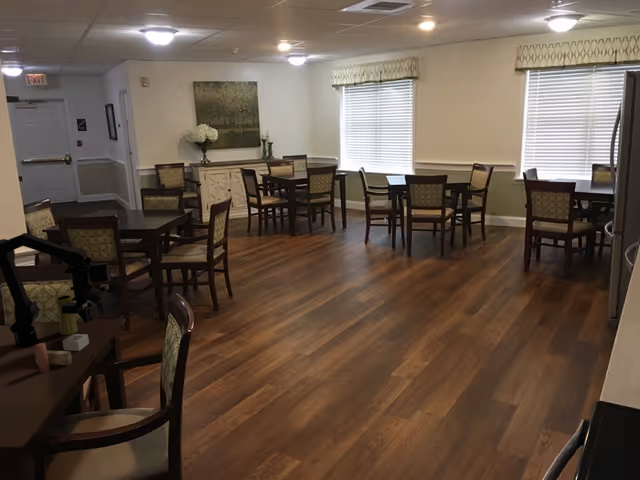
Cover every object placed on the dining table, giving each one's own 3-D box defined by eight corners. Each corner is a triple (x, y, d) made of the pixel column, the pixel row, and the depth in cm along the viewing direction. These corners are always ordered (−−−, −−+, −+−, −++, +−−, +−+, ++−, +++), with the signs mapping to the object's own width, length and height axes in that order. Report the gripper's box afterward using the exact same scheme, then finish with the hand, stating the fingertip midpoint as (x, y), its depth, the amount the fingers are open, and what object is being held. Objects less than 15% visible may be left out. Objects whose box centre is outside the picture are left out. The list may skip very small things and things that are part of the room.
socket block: (63, 350, 184) (62, 341, 183) (74, 342, 189) (72, 334, 189) (79, 350, 183) (77, 341, 182) (89, 343, 189) (87, 334, 188)
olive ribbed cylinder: (81, 328, 202) (75, 294, 199) (72, 335, 196) (66, 300, 193) (66, 328, 203) (61, 294, 199) (57, 335, 197) (51, 300, 193)
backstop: (36, 363, 174) (34, 352, 173) (40, 360, 176) (38, 350, 175) (68, 365, 172) (66, 354, 171) (72, 362, 174) (70, 351, 173)
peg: (37, 372, 168) (32, 346, 166) (43, 367, 171) (39, 342, 169) (45, 372, 168) (41, 347, 166) (51, 368, 171) (47, 343, 168)
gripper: (86, 292, 178) (92, 333, 182) (114, 275, 196) (119, 313, 200) (57, 291, 180) (63, 332, 184) (88, 275, 198) (93, 313, 202)
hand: (86, 322), depth 192 cm, fingers closed
